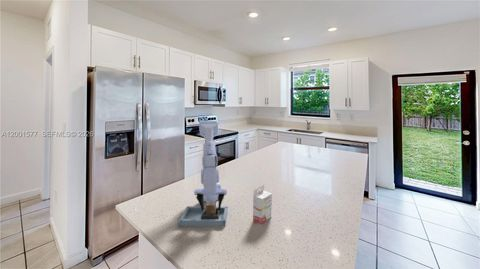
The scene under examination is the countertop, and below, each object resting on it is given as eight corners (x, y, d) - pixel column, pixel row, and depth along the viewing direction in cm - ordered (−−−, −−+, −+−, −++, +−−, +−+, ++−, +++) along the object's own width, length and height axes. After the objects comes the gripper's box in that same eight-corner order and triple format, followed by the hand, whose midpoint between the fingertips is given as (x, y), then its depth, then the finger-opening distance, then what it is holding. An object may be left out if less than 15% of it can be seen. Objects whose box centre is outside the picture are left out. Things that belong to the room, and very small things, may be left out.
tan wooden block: (216, 215, 98) (215, 201, 98) (214, 220, 95) (214, 205, 94) (207, 215, 99) (207, 201, 98) (206, 220, 95) (205, 205, 94)
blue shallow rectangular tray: (227, 211, 103) (227, 205, 103) (225, 226, 90) (225, 219, 90) (187, 211, 103) (187, 204, 103) (179, 226, 91) (178, 218, 90)
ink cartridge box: (262, 224, 91) (262, 192, 90) (252, 220, 94) (252, 189, 93) (272, 216, 98) (272, 186, 96) (263, 213, 101) (263, 184, 99)
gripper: (192, 184, 91) (193, 213, 92) (225, 184, 90) (226, 213, 92) (195, 178, 98) (196, 206, 99) (227, 178, 97) (227, 206, 99)
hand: (211, 209), depth 96 cm, fingers open, 7 cm apart
